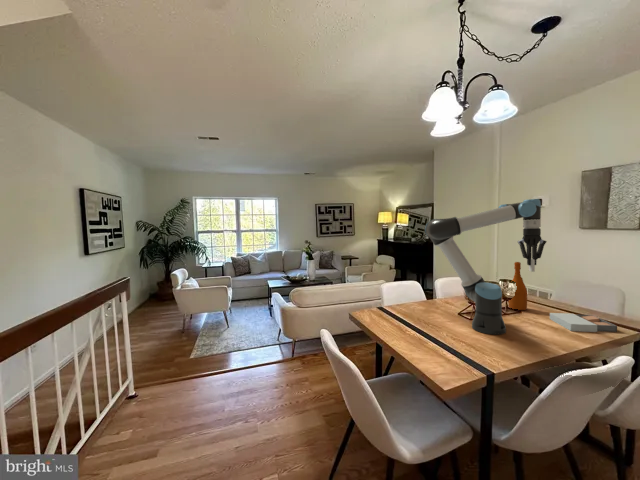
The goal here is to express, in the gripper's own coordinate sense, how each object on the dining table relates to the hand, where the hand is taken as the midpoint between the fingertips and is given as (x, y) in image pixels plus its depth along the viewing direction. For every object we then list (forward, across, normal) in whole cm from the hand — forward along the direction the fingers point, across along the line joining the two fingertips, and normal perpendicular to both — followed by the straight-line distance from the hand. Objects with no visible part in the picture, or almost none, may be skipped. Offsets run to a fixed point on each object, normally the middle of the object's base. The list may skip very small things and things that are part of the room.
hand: (531, 271), depth 149 cm
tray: (+28, +28, -1) cm, 40 cm away
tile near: (+26, +29, -5) cm, 39 cm away
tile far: (+26, +29, +3) cm, 38 cm away
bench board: (+28, +18, -2) cm, 33 cm away
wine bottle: (+29, +4, +26) cm, 39 cm away
